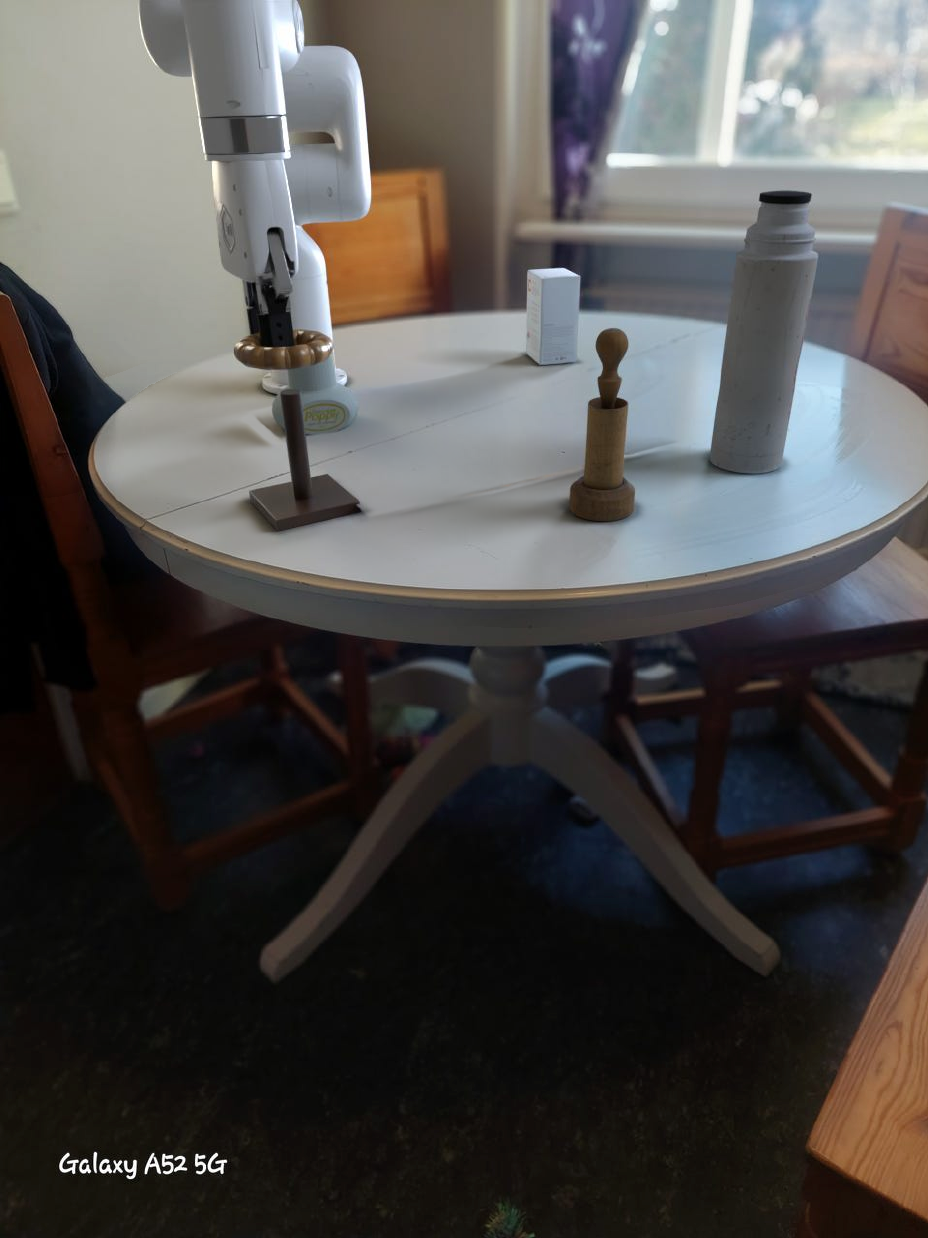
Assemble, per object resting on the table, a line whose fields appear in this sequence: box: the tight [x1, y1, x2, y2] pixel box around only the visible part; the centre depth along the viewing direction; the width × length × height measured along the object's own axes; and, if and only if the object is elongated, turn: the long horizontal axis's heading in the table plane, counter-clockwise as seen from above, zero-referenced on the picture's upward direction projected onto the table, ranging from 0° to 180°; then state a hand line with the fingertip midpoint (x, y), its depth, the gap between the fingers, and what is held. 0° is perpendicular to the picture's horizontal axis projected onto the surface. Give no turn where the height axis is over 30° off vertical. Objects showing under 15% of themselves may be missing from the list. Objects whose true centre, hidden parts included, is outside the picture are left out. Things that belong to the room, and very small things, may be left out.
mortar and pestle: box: [568, 327, 636, 522], centre depth 85 cm, size 7×6×18 cm
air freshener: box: [271, 352, 360, 436], centre depth 110 cm, size 11×8×10 cm
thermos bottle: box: [709, 189, 819, 475], centre depth 93 cm, size 8×8×28 cm
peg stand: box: [248, 389, 361, 532], centre depth 89 cm, size 9×9×12 cm
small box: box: [525, 267, 581, 366], centre depth 137 cm, size 8×6×13 cm
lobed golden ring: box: [233, 329, 334, 371], centre depth 83 cm, size 9×9×2 cm
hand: (273, 350), depth 86 cm, fingers closed on lobed golden ring, 2 cm apart
